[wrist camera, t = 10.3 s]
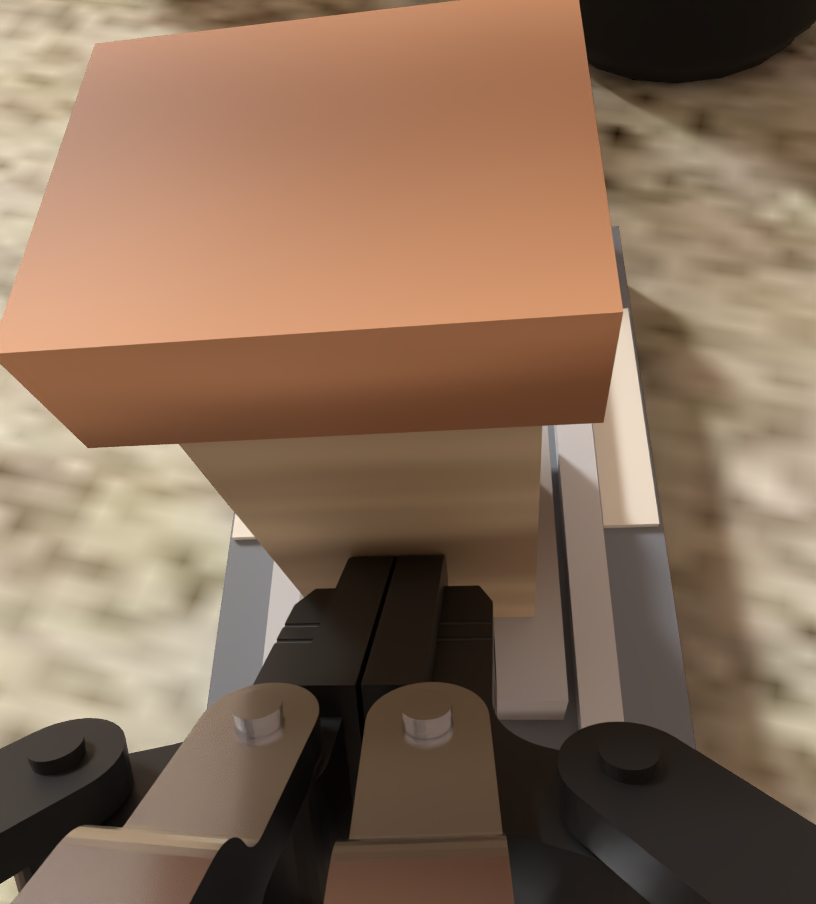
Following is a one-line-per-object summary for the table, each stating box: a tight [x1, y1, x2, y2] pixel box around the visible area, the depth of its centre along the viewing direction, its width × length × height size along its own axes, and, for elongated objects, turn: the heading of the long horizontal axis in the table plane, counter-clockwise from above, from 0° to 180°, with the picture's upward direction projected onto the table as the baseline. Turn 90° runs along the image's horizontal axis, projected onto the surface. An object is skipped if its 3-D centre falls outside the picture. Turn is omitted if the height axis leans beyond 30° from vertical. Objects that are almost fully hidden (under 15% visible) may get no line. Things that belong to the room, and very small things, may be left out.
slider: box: [0, 0, 623, 720], centre depth 12 cm, size 6×5×12 cm
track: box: [207, 226, 696, 750], centre depth 15 cm, size 28×10×4 cm, turn 178°
